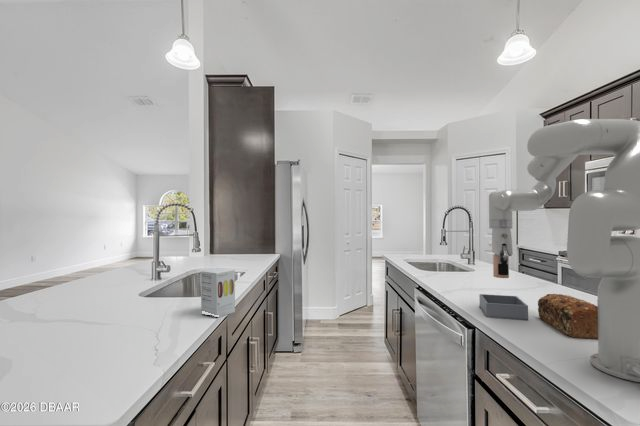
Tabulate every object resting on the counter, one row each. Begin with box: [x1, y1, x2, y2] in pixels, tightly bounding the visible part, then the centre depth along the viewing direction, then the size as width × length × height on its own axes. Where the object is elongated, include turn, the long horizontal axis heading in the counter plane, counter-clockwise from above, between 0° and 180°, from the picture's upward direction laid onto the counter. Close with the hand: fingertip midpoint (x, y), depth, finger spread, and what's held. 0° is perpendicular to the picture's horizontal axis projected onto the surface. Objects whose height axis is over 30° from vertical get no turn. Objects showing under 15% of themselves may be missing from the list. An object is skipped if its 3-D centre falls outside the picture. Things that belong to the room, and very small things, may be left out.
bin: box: [478, 293, 529, 321], centre depth 116 cm, size 13×13×5 cm
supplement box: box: [200, 267, 236, 318], centre depth 122 cm, size 10×9×17 cm
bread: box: [537, 293, 598, 340], centre depth 101 cm, size 19×11×10 cm, turn 169°
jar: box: [492, 253, 510, 279], centre depth 116 cm, size 5×5×8 cm
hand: (501, 272), depth 116 cm, fingers closed on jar, 5 cm apart
